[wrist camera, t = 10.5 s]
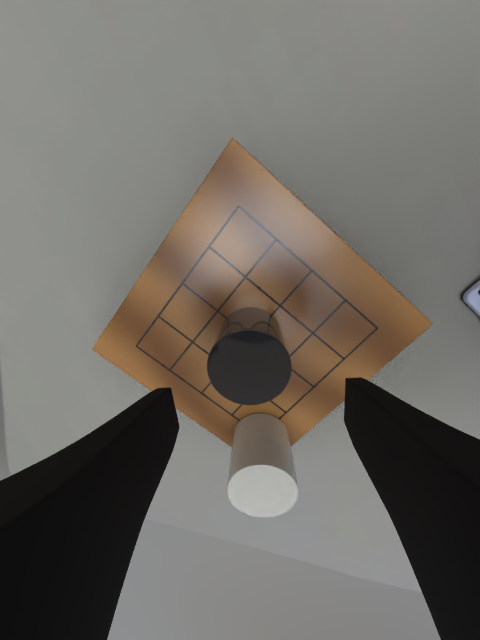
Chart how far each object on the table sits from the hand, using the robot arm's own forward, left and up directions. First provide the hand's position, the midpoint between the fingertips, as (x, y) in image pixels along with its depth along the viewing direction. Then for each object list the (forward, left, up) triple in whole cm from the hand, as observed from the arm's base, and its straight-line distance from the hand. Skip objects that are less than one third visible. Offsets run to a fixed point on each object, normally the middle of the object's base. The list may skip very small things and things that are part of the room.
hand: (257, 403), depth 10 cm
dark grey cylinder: (0, 0, -7) cm, 7 cm away
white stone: (+6, +6, -7) cm, 11 cm away
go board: (0, 0, -8) cm, 8 cm away
